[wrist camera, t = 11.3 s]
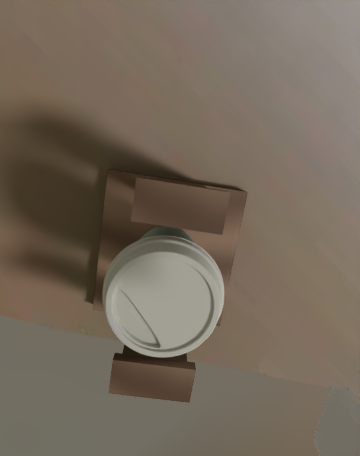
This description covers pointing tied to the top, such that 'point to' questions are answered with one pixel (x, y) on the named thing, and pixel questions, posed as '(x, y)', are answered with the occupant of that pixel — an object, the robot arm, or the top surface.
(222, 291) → the coffee cup
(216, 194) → the wooden stand
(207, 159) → the top surface
